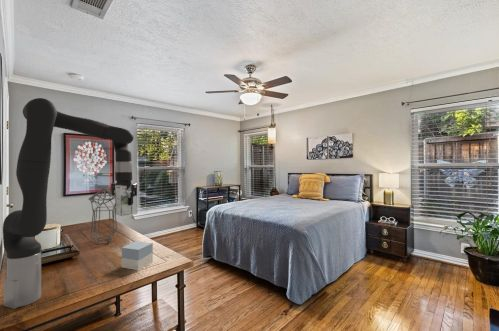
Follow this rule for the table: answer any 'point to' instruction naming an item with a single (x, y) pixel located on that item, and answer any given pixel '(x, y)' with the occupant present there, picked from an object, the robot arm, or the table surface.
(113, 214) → the geometric lantern
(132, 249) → the tower top block
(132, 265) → the tower base block
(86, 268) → the table surface
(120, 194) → the syrup box
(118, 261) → the table surface
